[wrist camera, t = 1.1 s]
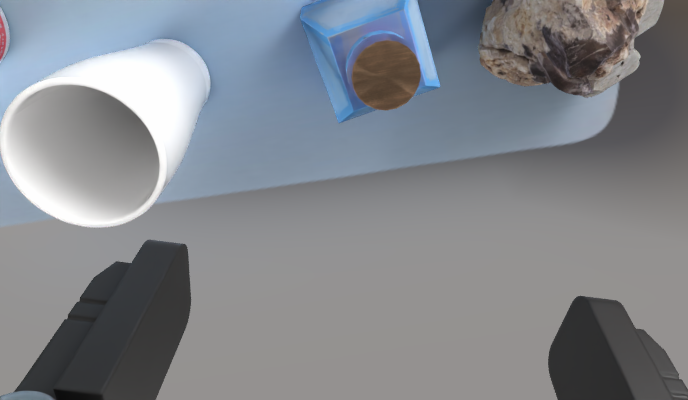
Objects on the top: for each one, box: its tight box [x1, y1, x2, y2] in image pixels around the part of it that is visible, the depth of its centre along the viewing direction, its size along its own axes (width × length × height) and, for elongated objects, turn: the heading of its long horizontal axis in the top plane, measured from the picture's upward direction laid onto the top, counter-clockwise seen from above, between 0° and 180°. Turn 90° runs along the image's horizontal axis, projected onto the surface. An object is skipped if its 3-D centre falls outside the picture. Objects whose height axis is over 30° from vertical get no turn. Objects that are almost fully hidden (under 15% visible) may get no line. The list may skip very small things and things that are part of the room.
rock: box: [478, 0, 664, 98], centre depth 32 cm, size 9×12×10 cm
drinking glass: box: [0, 39, 211, 228], centre depth 28 cm, size 7×7×15 cm
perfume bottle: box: [300, 0, 440, 123], centre depth 29 cm, size 6×6×12 cm
